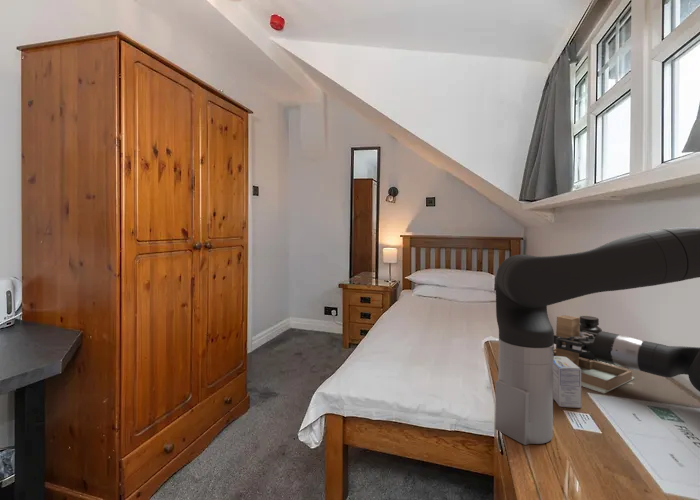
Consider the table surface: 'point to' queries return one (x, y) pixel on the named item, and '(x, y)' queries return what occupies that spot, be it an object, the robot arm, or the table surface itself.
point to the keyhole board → (602, 375)
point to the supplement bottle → (591, 326)
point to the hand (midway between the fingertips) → (553, 334)
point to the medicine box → (566, 383)
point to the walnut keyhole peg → (564, 329)
